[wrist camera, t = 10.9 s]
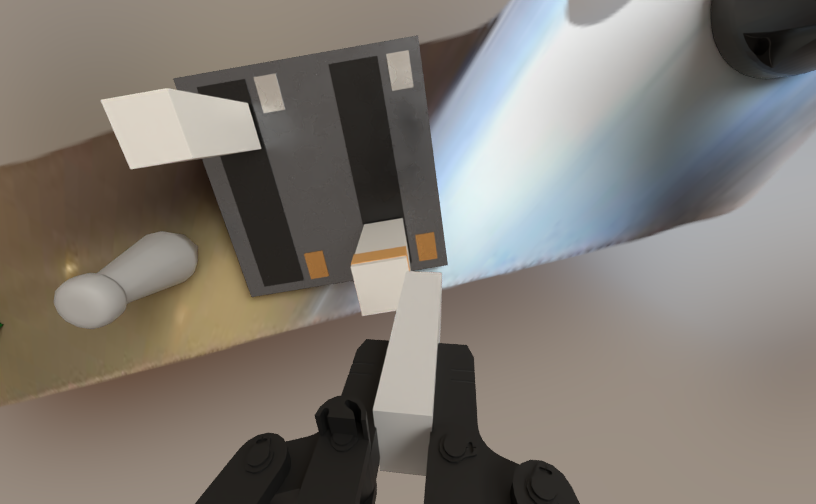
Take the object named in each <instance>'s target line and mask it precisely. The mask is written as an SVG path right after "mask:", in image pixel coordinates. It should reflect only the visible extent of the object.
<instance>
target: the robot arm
mask: <svg viewBox="0 0 816 504" xmlns="http://www.w3.org/2000/svg"><path fill="white" fill-rule="evenodd" d="M711 21H712V30H713V35H714V39H715V42H716V45H717V47H718V49H719V51H720V53H721V55H722V56H723V58H724V59H725V60H726V62H727V63H728V64H729V65H730V66H731V67H733V68H734V69H735V70H737V71H738V72H740V73H742V74H744V75H747V76H750V77H754V78H765V79H767V78H777V77H784V76H792V75H798V74H803V73H807V72H810V71H814V70H816V0H712V8H711ZM441 292H442V273H439V272H414V271H406V274H405V278H404V282H403V286H402V291H401V295H400V299H399V303H398V307H397V311H396V316H395V320H394V324H393V329H392V332H391V336H390V341H386V340H371V339H366V340H365V341H364V343H363V344H362V345H361V346H360V347H359V348H358V349H357V352H356V354H355V357H354V360H353V364H352V366H351V369H350V372H349V375H348V378H347V380H346V384H345V386H344V389H343V392H342V395H341V396H337V397H334V398H332V399H329V400H328V401H326V402H325V403H324V404H323V405H322V406H320V408H319V409H318V411H317V413H316V414H315V419H316V423H317V426H318V430H319V432H317V433H316V434H314V435H311V436H308V437H304V438H300V439H296V440H291V441H286V442H285V441H284V439H283V438H282V437H281V436H279V435H278V434H274V433H265V434H261V435H257V436H255V437H254V438H252V439H250V440H248V441H247V442H246V443H245V444H244V445H243V446H242V447H241V448H240V449H239V450H238V451H237V452H236V454H235V455H234V456H233V458H232V459H231V460H230V461H229V462H228V464H227V465H226V466H225V467H224V468H223V470H222V471H221V472H220V474H219V475H218V476H217V477H216V478H215V480H214V481H213V482H212V483H211V485H210V486H209V487H208V488H207V489H206V491H205V492H204V493H203V494H202V496H201V497H200V498H199V499H198V501H197V502H196V503H195V504H375V500H376V495H377V483H376V478H377V472H378V467H379V464H380V471H389V472H396V473H405V474H414V475H423V476H426V483H425V496H424V504H580V503H579V501H578V499H577V497H576V495H575V493H574V491H573V489H572V487H571V486H570V484H569V482H568V481H567V480H566V478H565V476H564V475H563V474H562V473H561V472H560V471H559V470H557V469H556V468H555V467H554V466H553V465H550V464H548V463H546V462H543V461H539V460H529V461H526V462H524V463H521V464H520V465H519V464H517V463H515V462H513V461H510V460H508V459H506V458H504V457H502V456H500V455H498V454H496V453H495V452H493V451H492V450H491V449H490V448H489V447H488V446H487V445H486V444H485V442H484V441H483V440H482V438H481V436H480V434H479V430H478V423H477V406H476V389H475V373H474V357H473V355H472V353H471V351H470V350H469V348H468V346H467V345H458V344H443V343H440V328H441Z"/></svg>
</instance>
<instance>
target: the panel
mask: <svg viewBox="0 0 816 504" xmlns="http://www.w3.org/2000/svg"><path fill="white" fill-rule="evenodd" d="M173 80H174V82H175V85H176V88H177V90H180V91H185V92H191V93H196V94H201V95H207V96H212V97H218V98H223V99H228V100H234V101H239V102H245V103H248V105H249V109H250V112H251V115H252V119H253V122H254V126H255V129H256V132H257V136H258V139H259V142H260V146H261V149H258V150H252V151H246V152H240V153H234V154H228V155H223V156H216V157H210V158H203V159H202V160H203V163H204V166H205V169H206V171H207V174H208V177H209V180H210V183H211V185H212V188H213V191H214V194H215V197H216V199H217V202H218V205H219V208H220V210H221V213H222V216H223V219H224V222H225V224H226V227H227V230H228V233H229V235H230V238H231V241H232V244H233V247H234V249H235V252H236V255H237V258H238V261H239V263H240V266H241V269H242V272H243V274H244V277H245V280H246V283H247V286H248V288H249V291H250V294H251V297H255V296H261V295H267V294H273V293H279V292H286V291H292V290H298V289H304V288H310V287H316V286H322V285H328V284H334V283H340V282H347V281H353V280H354V279H353V275H352V271H351V262H352V258H353V255H354V254H355V252H356V249H357V246H358V242H359V239H360V236H361V233H362V230H363V227H364V224H370V223H376V222H382V221H388V220H394V219H400V218H403V223H404V229H405V235H406V241H407V247H408V252H409V260H410V268H411V271H414V270H420V269H426V268H432V267H438V266H444V265H448V264H447V256H446V248H445V241H444V233H443V225H442V217H441V210H440V202H439V194H438V187H437V179H436V171H435V164H434V156H433V148H432V140H431V133H430V125H429V117H428V110H427V102H426V94H425V87H424V79H423V71H422V64H421V56H420V48H419V40H418V36H412V37H407V38H401V39H395V40H390V41H384V42H378V43H372V44H367V45H361V46H356V47H350V48H344V49H339V50H333V51H327V52H321V53H316V54H310V55H304V56H299V57H293V58H288V59H282V60H276V61H270V62H265V63H260V64H253V65H248V66H242V67H237V68H230V69H225V70H219V71H213V72H208V73H202V74H197V75H192V76H185V77H179V78H174V79H173Z"/></svg>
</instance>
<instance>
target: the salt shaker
mask: <svg viewBox="0 0 816 504" xmlns="http://www.w3.org/2000/svg"><path fill="white" fill-rule="evenodd" d="M197 263H198V246H197V245H196V244H195V243H193V242H192V241H191V240H190V239H189V238H188V237H187V236H185V235H184V234H176V233H169V232H164V231H161V232H156V233H152V234H148V235H145V236H144V237H143V238H141V239H140V240H139V241H138V242H136V243H135V244H134V245H132V246H131V247H130V248H129V249H127V250H126V251H125V252H123V253H122V254H121V255H120V256H118V257H117V258H116V259H114V260H113V261H112V262H111V263H109V264H108V265H107V266H105V267H104V268H103V269H102V270H100V271H99V272H98V273H87V274H83V275H79V276H76V277H73V278H71V279H68V280H67V281H66V282H64V283H63V284H62V285H61V286H60V287H59V288H58V289H57V290H56V291H55V296H54V305H55V307H56V309H57V312H58V314H59V315H60V316H61V317H62V318H63V319H64V320H65V321H67V322H69V323H71V324H73V325H75V326H77V327H81V328H88V329H95V328H99V327H103V326H105V325H107V324H110V323H111V322H113V321H114V320H115V319H117V318H118V317H119V316H120V315H121V314H122V313H123V312H124V311H125V309H126V305H127V304H128V303H130V302H132V301H135V300H137V299H140V298H143V297H145V296H148V295H151V294H153V293H156V292H158V291H161V290H164V289H166V288H169V287H172V286H174V285H177V284H179V283H182V282H185V281H186V280H187V279H188V278H189V277H190V276H191V275H192V274H193V273H194V272H195V269H196V266H197Z"/></svg>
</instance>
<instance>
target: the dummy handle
mask: <svg viewBox="0 0 816 504" xmlns="http://www.w3.org/2000/svg"><path fill="white" fill-rule="evenodd" d="M101 102H102V104H103V107H104V109H105V111H106V114H107V116H108V118H109V120H110V123H111V125H112V128H113V130H114V132H115V135H116V137H117V139H118V141H119V144H120V146H121V148H122V151H123V153H124V155H125V158H126V160H127V162H128V164H129V167H130V169H136V168H143V167H149V166H156V165H163V164H169V163H176V162H183V161H190V160H196V159H203V158H210V157H216V156H223V155H228V154H234V153H240V152H246V151H252V150H258V149H261V146H260V142H259V139H258V136H257V132H256V129H255V126H254V122H253V119H252V115H251V112H250V109H249V105H248V103H245V102H239V101H234V100H228V99H223V98H218V97H212V96H207V95H201V94H196V93H191V92H185V91H180V90H174V89H169V88H166V89H160V90H155V91H149V92H143V93H137V94H132V95H126V96H120V97H114V98H109V99H103V100H101Z"/></svg>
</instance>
